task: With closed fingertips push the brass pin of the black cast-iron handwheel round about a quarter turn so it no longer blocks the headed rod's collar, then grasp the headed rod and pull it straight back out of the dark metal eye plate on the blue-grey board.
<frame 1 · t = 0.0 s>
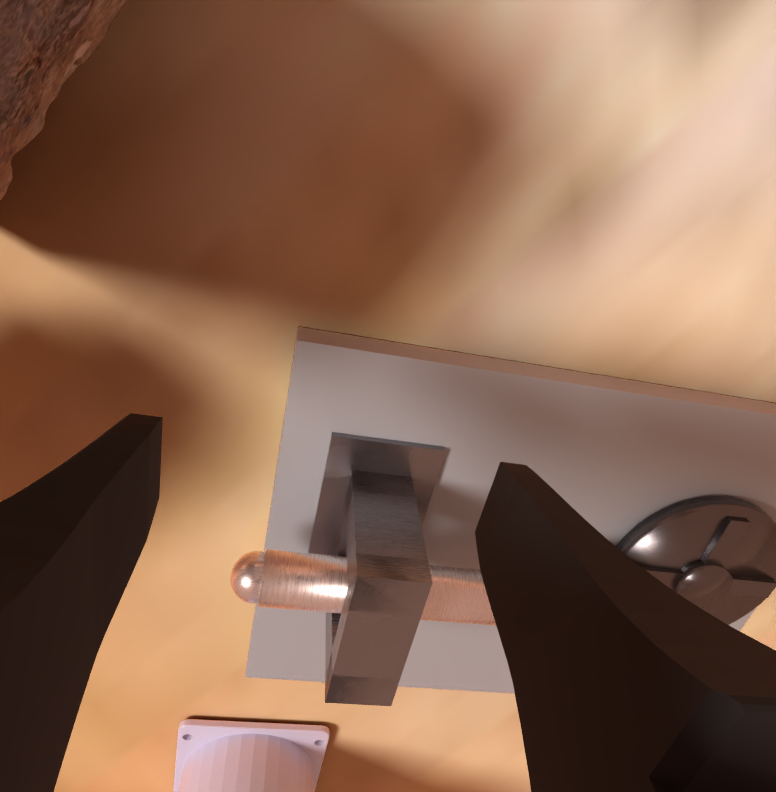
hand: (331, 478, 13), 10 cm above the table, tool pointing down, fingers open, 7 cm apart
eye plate: (364, 509, 27), resting on board
geological specimen: (17, 48, 17), on the table
handwheel: (709, 606, 26), point 4 cm above the table, hinge at 0.0°
headed rod: (420, 591, 23), point 4 cm above the table, slide at 0.0 cm
board: (530, 545, 28), on the table
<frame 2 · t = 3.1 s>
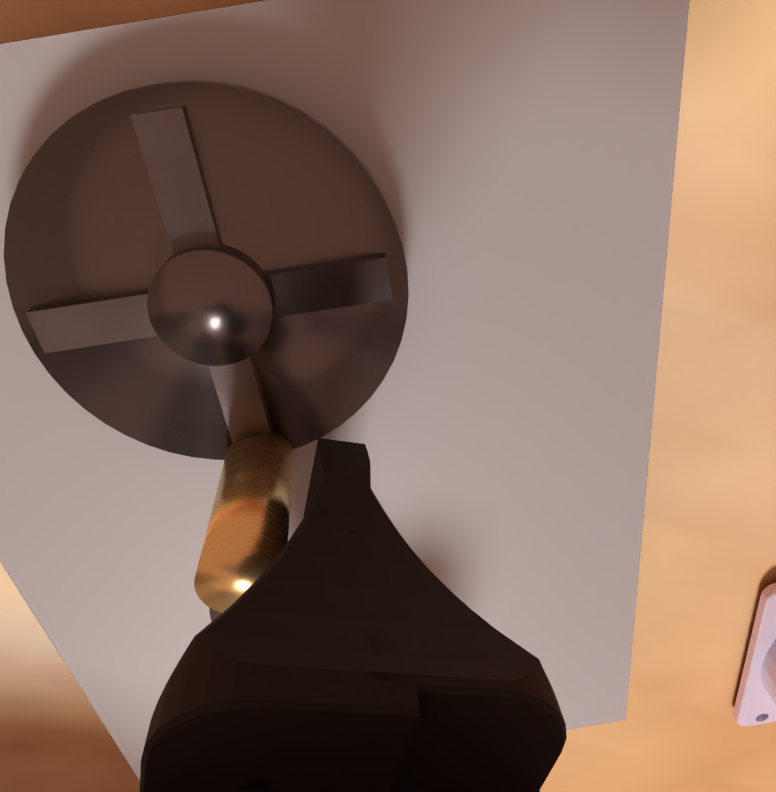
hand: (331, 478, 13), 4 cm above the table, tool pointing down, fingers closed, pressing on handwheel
handwheel: (207, 351, 11), point 4 cm above the table, hinge at 0.7°, touching gripper
headed rod: (334, 763, 17), point 4 cm above the table, slide at 0.0 cm
board: (328, 490, 18), on the table
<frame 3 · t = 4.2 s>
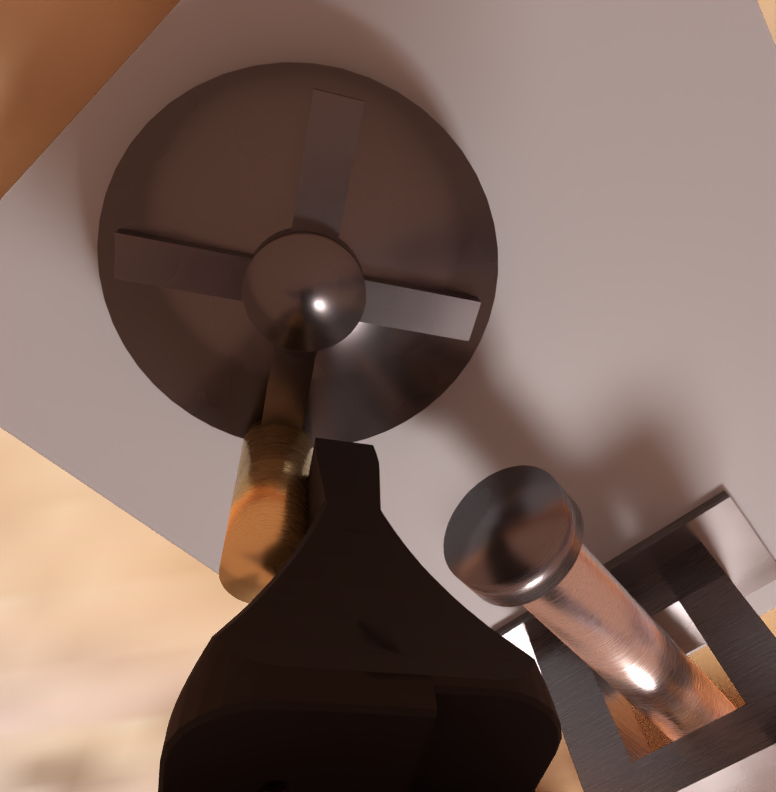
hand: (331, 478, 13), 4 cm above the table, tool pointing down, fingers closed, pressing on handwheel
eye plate: (610, 577, 21), resting on board
handwheel: (300, 335, 11), point 4 cm above the table, hinge at 52.9°, touching gripper
headed rod: (645, 665, 16), point 4 cm above the table, slide at 0.0 cm
board: (505, 415, 17), on the table
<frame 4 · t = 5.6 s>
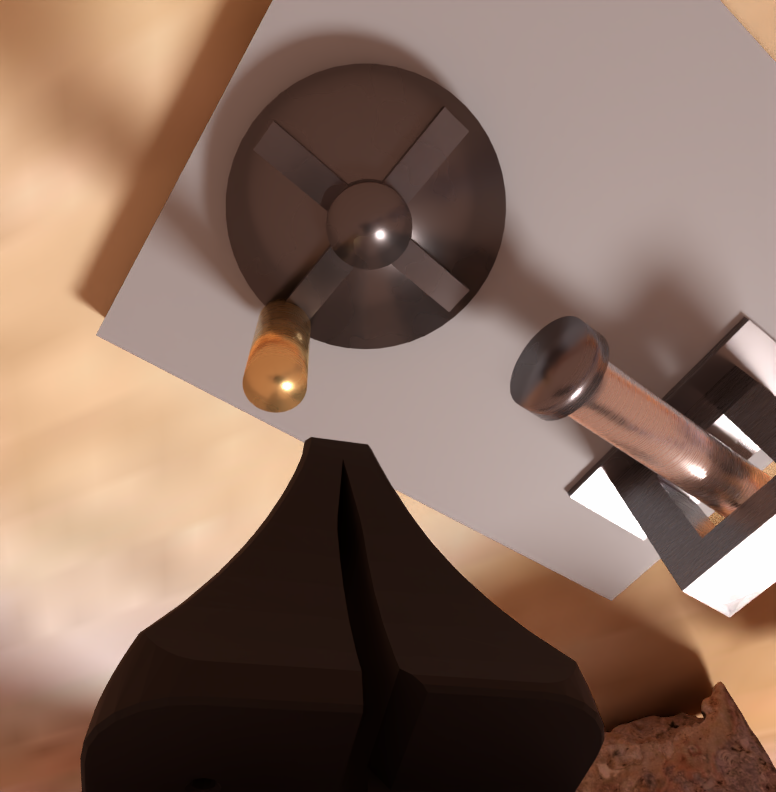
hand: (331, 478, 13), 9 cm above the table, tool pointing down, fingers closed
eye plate: (672, 420, 25), resting on board
geological specimen: (622, 712, 35), on the table
handwheel: (362, 248, 16), point 4 cm above the table, hinge at 95.6°
headed rod: (699, 464, 20), point 4 cm above the table, slide at 0.0 cm
board: (544, 296, 21), on the table
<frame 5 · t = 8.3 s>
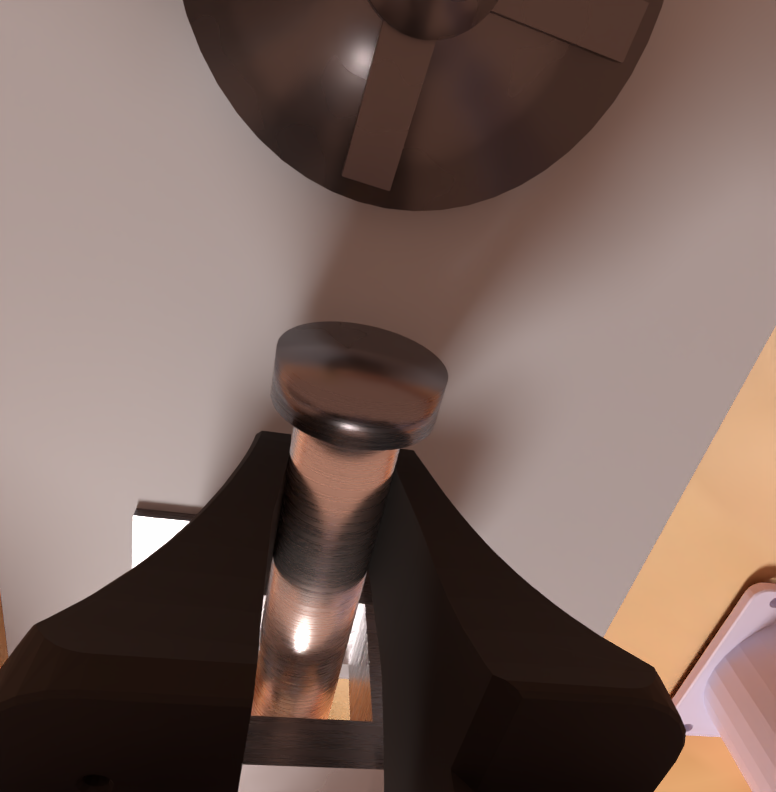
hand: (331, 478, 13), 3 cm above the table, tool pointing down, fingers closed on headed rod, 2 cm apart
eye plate: (301, 554, 19), resting on board
headed rod: (305, 632, 14), point 4 cm above the table, slide at 0.0 cm, touching gripper
board: (388, 317, 15), on the table
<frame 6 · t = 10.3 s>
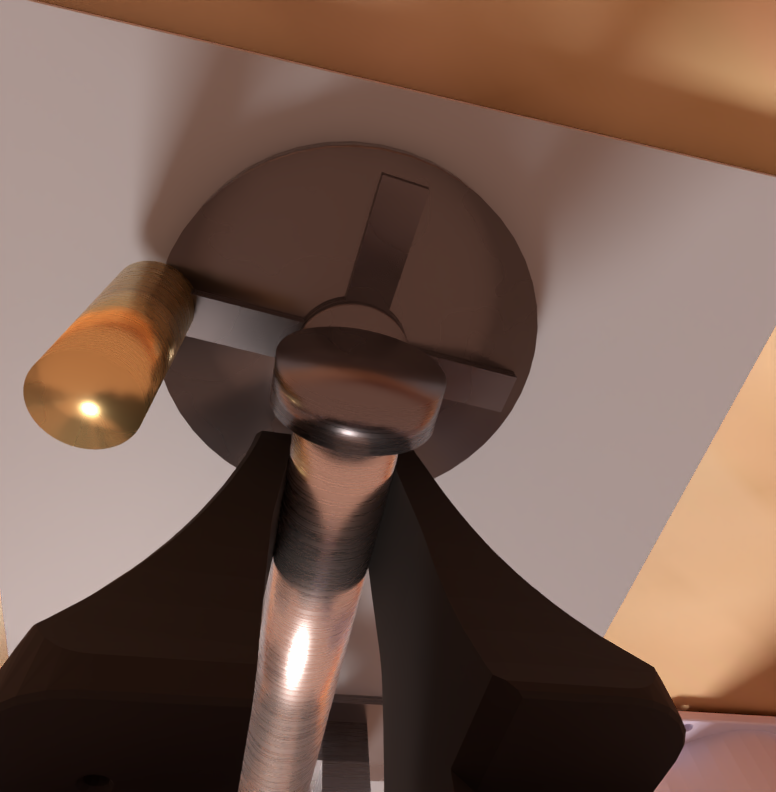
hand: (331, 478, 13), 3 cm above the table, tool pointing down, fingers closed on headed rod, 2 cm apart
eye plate: (273, 699, 22), resting on board
handwheel: (332, 381, 11), point 4 cm above the table, hinge at 95.7°
headed rod: (304, 635, 14), point 4 cm above the table, slide at 6.9 cm, touching gripper
board: (339, 533, 18), on the table
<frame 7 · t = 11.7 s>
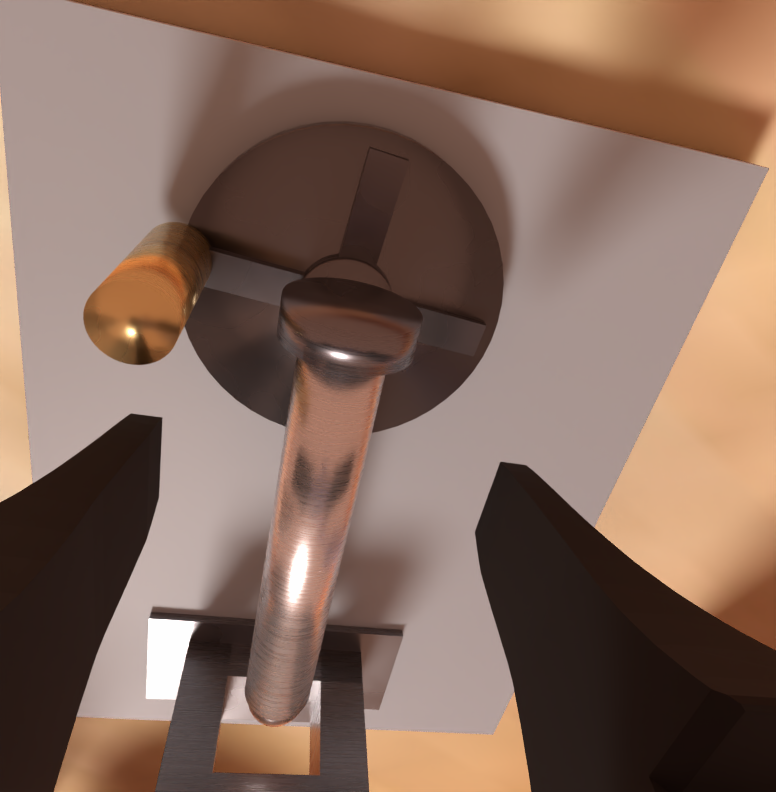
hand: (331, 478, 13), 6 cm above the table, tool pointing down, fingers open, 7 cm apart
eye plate: (276, 634, 24), resting on board
handwheel: (328, 322, 14), point 4 cm above the table, hinge at 95.7°
headed rod: (305, 549, 16), point 4 cm above the table, slide at 6.9 cm
board: (335, 476, 21), on the table
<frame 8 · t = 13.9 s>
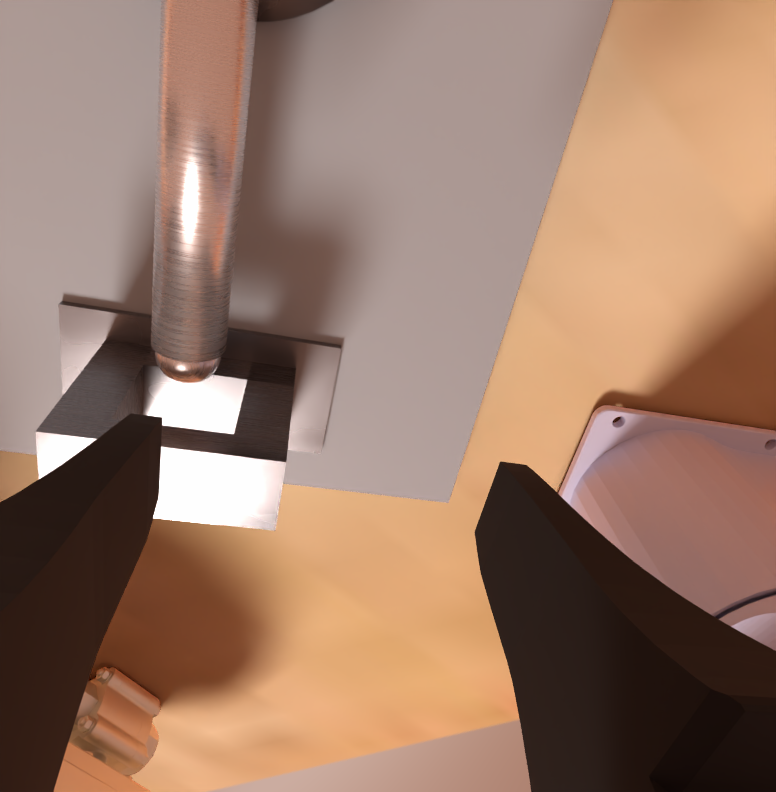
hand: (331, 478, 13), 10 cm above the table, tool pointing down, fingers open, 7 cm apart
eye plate: (208, 365, 22), resting on board
headed rod: (203, 120, 14), point 4 cm above the table, slide at 6.9 cm
board: (260, 140, 19), on the table
pneumatic valve: (121, 686, 31), on the table
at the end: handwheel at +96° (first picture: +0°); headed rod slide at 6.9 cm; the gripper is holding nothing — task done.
